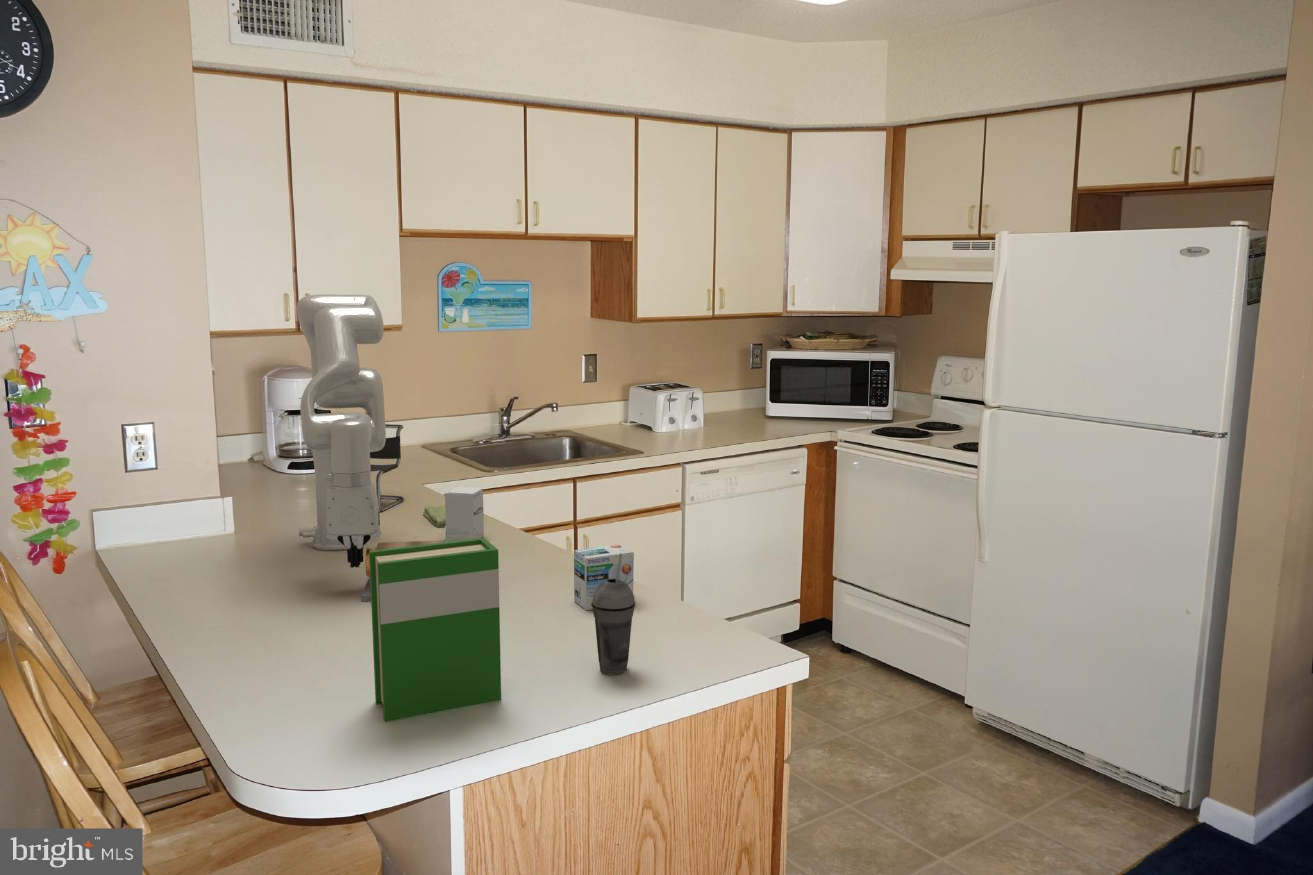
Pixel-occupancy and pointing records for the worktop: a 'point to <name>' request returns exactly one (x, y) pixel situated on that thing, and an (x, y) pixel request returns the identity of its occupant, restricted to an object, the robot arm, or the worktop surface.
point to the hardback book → (435, 627)
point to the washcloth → (435, 515)
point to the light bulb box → (599, 570)
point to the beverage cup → (613, 623)
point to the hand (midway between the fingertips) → (355, 565)
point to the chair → (387, 452)
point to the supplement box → (464, 514)
